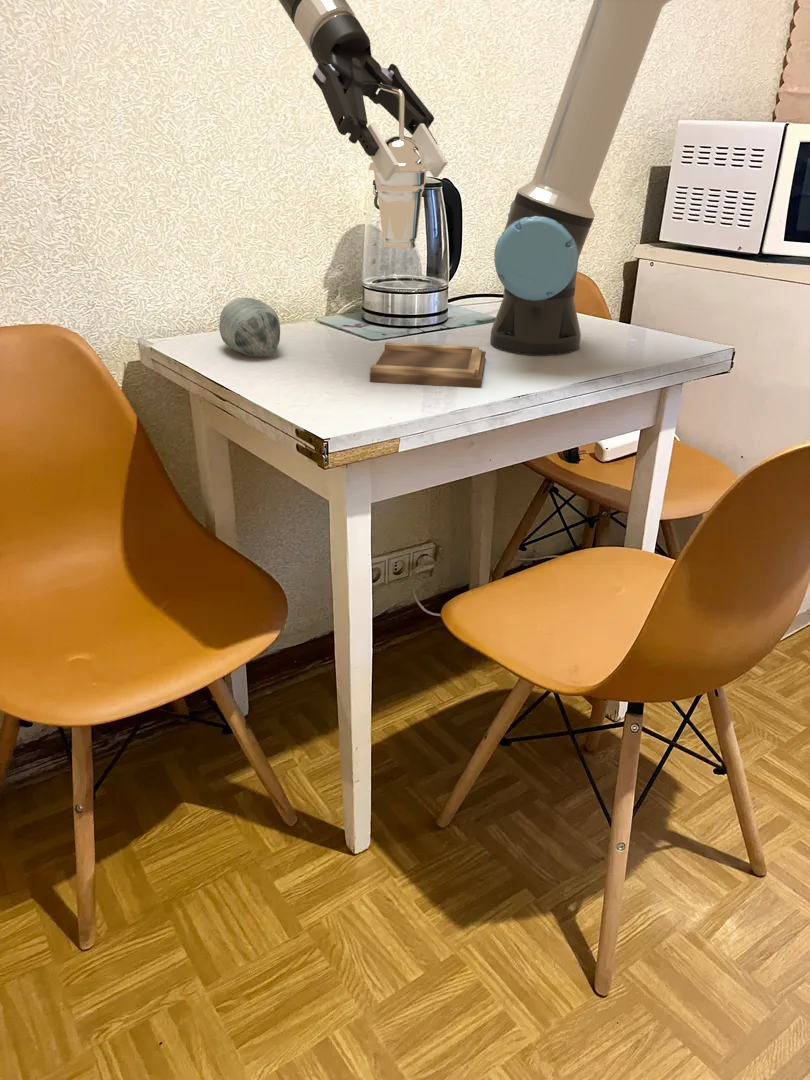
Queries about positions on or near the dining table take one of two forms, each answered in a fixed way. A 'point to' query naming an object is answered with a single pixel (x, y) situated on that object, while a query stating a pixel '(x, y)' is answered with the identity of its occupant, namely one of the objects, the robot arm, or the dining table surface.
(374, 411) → the dining table surface
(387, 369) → the brown flat square tray
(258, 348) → the spool
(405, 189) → the cup with straw
